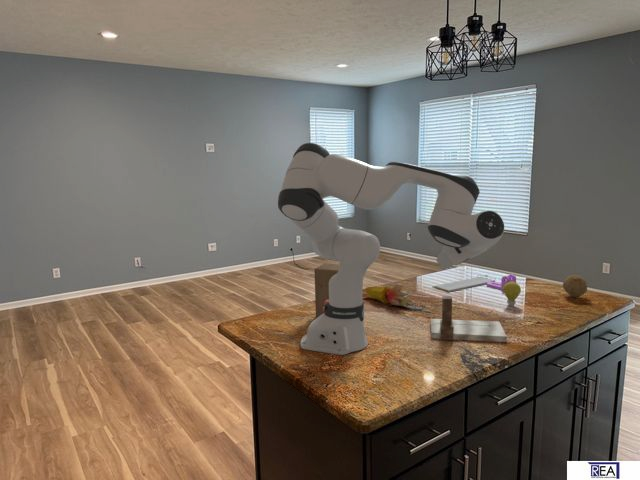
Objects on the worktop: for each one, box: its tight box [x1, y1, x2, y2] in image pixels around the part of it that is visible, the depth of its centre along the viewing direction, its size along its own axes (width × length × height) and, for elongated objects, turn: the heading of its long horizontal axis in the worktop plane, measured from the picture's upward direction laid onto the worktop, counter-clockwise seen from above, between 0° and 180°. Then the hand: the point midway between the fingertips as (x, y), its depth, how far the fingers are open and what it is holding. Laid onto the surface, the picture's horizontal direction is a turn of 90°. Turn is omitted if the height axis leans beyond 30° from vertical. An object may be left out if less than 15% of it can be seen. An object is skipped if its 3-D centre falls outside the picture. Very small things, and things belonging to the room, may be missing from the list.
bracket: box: [486, 274, 517, 291], centre depth 209 cm, size 13×6×7 cm, turn 32°
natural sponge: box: [562, 274, 588, 299], centre depth 192 cm, size 9×9×10 cm
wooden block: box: [313, 263, 340, 319], centre depth 176 cm, size 10×10×20 cm
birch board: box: [430, 318, 507, 343], centre depth 157 cm, size 24×14×2 cm, turn 78°
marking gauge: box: [440, 295, 454, 340], centre depth 154 cm, size 4×12×13 cm, turn 168°
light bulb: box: [502, 282, 522, 307], centre depth 183 cm, size 7×7×10 cm
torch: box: [365, 284, 414, 309], centre depth 192 cm, size 8×8×25 cm
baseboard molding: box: [432, 274, 496, 293], centre depth 217 cm, size 31×3×12 cm
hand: (462, 249), depth 137 cm, fingers open, 8 cm apart
